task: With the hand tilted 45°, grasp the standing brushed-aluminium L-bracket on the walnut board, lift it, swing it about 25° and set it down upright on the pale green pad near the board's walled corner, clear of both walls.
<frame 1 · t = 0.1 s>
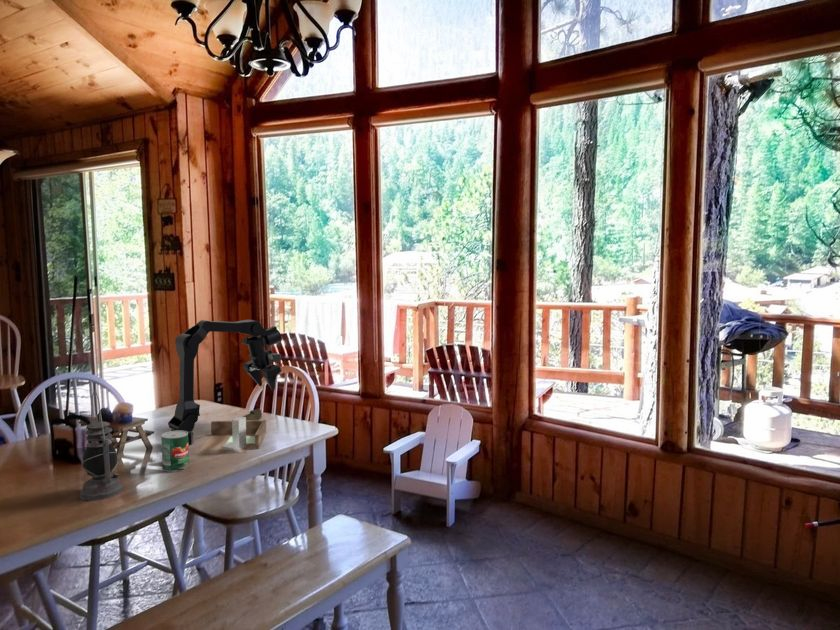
hand: (267, 387, 224), 15 cm above the table, tool pointing down, fingers open, 9 cm apart
bracket: (239, 449, 195), point 1 cm above the table, touching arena
hand tool: (245, 424, 229), on the table
canned tomato: (175, 467, 182), on the table
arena: (234, 445, 203), on the table
lantern: (101, 493, 162), on the table
pad: (242, 443, 205), resting on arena
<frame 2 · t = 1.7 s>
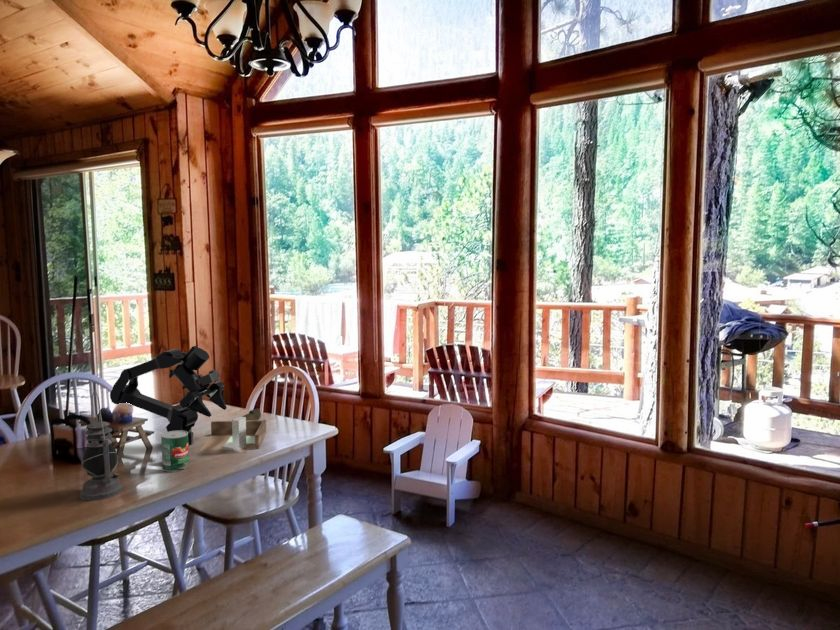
hand: (218, 412, 196), 13 cm above the table, tool tilted 45°, fingers open, 9 cm apart
nothing on the table moved.
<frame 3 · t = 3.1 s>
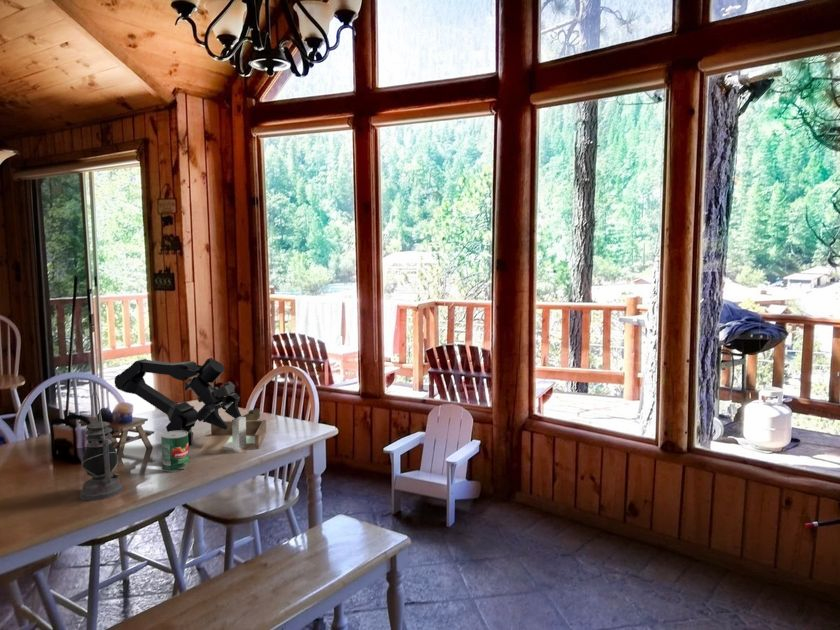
hand: (234, 424, 195), 10 cm above the table, tool tilted 45°, fingers open, 9 cm apart
nothing on the table moved.
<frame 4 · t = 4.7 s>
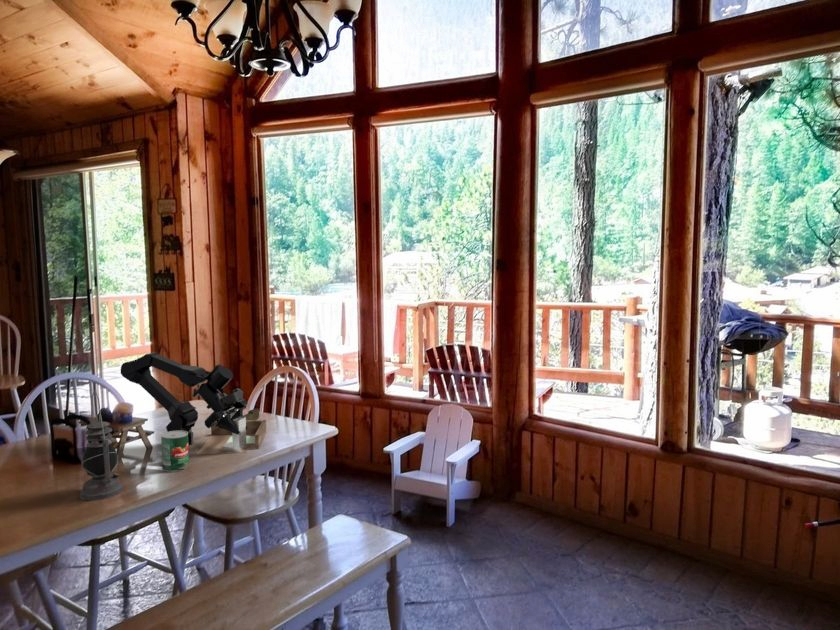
hand: (242, 431, 194), 8 cm above the table, tool tilted 45°, fingers closed on bracket, 4 cm apart
bracket: (239, 449, 195), point 1 cm above the table, touching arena, gripper
everything else where it was.
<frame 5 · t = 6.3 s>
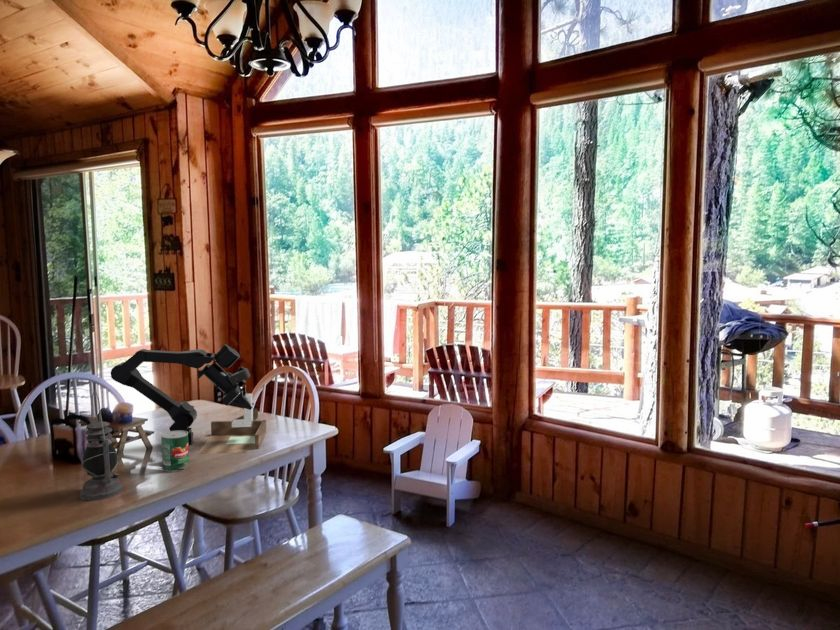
hand: (252, 406, 204), 13 cm above the table, tool tilted 45°, fingers closed on bracket, 4 cm apart
bracket: (248, 425, 204), point 7 cm above the table, touching gripper
everything else where it was.
when the fingers open (8 cm above the table, at t = 7.9 s): bracket stays where it is, resting on pad.
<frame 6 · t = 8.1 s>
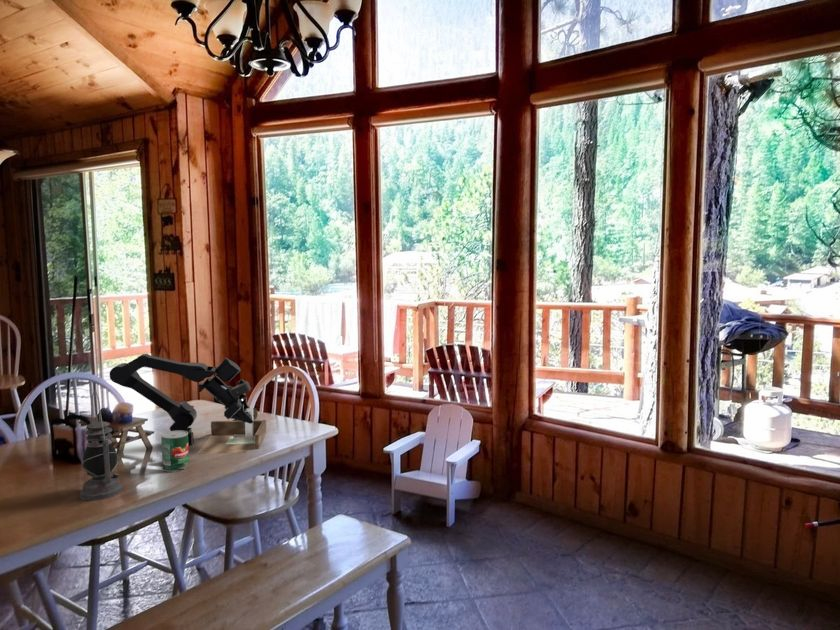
hand: (253, 419, 205), 9 cm above the table, tool tilted 45°, fingers open, 7 cm apart
bracket: (249, 439, 205), point 1 cm above the table, touching pad
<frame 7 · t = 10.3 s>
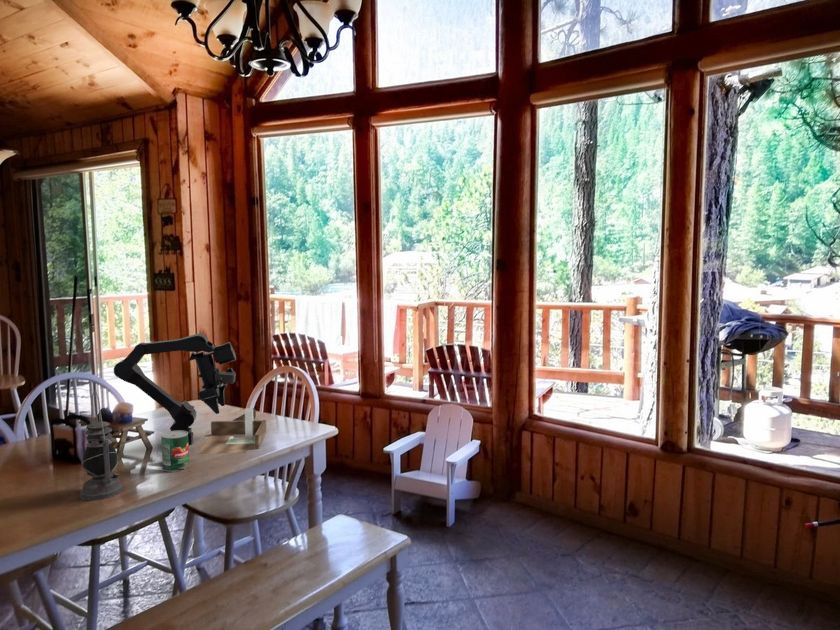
hand: (220, 409, 203), 13 cm above the table, tool tilted 15°, fingers open, 9 cm apart
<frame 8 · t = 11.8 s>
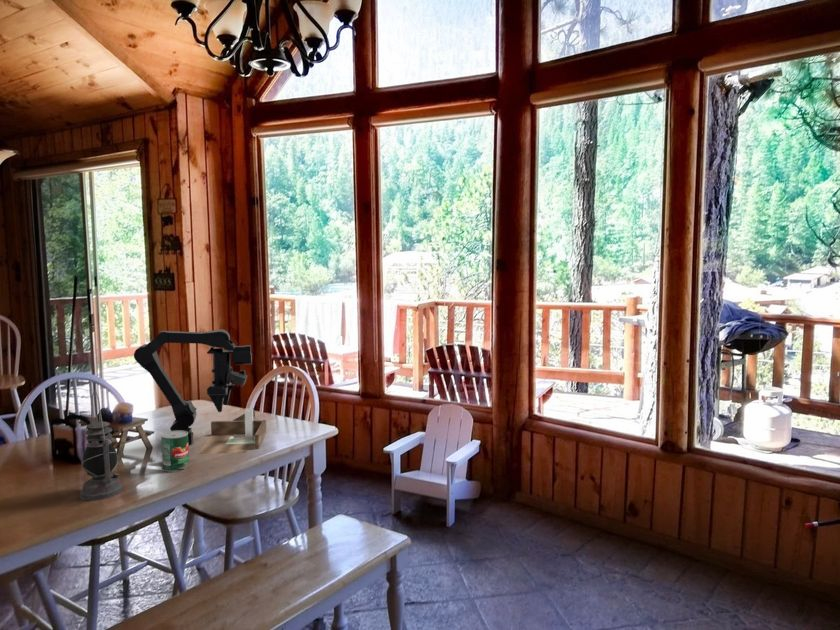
hand: (223, 408, 203), 13 cm above the table, tool pointing down, fingers open, 9 cm apart
at the end: bracket 1.8 cm off-centre on the pad, point 1.2 cm above the pad's base; bracket tilted 0°; the gripper is holding nothing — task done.
